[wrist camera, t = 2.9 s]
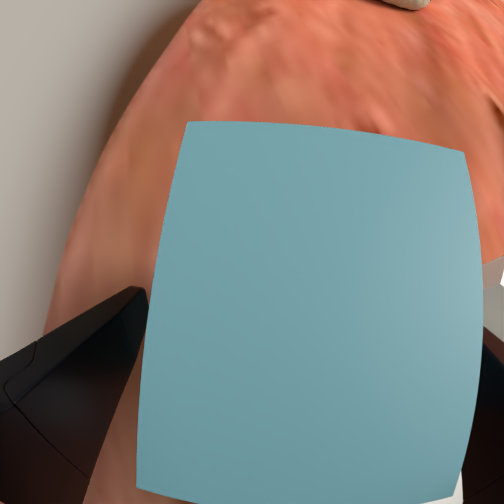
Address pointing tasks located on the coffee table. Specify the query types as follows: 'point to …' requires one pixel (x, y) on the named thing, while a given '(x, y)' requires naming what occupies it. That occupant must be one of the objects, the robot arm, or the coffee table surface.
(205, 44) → the coffee table surface
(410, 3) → the sea urchin shell
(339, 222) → the teal rectangular block
